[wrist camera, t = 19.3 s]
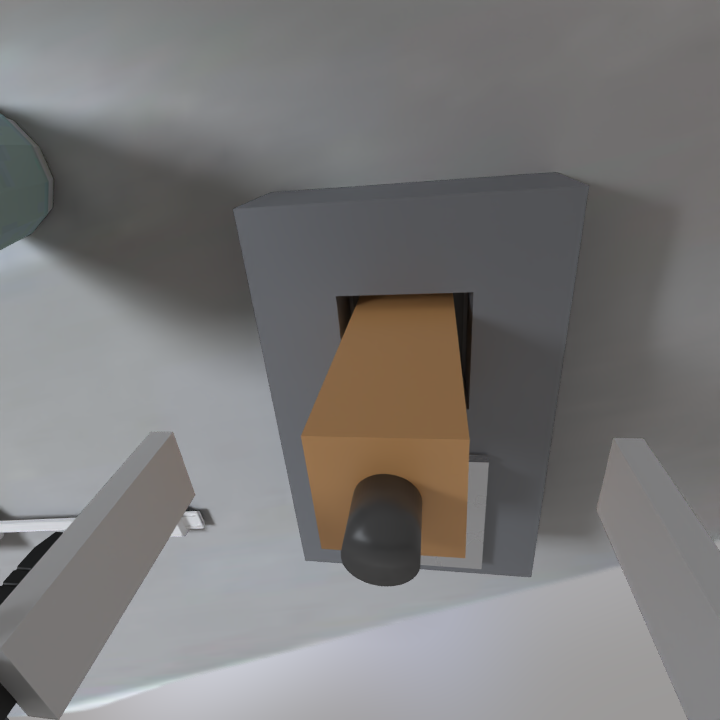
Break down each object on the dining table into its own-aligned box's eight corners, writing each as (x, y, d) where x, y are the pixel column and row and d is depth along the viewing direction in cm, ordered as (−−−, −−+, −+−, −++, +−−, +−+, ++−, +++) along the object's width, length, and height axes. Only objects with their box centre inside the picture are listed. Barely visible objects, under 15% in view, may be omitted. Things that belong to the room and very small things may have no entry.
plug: (368, 367, 25) (305, 608, 12) (362, 290, 23) (278, 488, 10) (451, 367, 24) (470, 623, 12) (452, 287, 22) (476, 497, 10)
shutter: (334, 450, 24) (319, 499, 21) (487, 454, 23) (496, 508, 19) (348, 551, 28) (337, 606, 24) (480, 560, 26) (486, 619, 23)
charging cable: (219, 524, 38) (202, 558, 35) (-88, 536, 43) (-124, 566, 40) (199, 479, 36) (180, 511, 33) (-121, 498, 41) (-162, 526, 38)
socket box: (270, 192, 23) (233, 208, 19) (556, 172, 21) (589, 185, 16) (322, 502, 33) (305, 560, 29) (517, 512, 31) (531, 577, 26)
